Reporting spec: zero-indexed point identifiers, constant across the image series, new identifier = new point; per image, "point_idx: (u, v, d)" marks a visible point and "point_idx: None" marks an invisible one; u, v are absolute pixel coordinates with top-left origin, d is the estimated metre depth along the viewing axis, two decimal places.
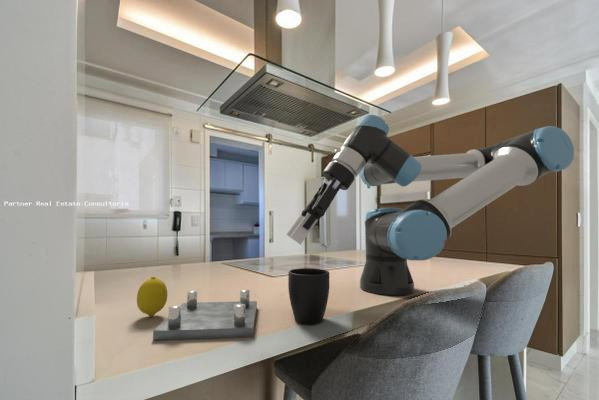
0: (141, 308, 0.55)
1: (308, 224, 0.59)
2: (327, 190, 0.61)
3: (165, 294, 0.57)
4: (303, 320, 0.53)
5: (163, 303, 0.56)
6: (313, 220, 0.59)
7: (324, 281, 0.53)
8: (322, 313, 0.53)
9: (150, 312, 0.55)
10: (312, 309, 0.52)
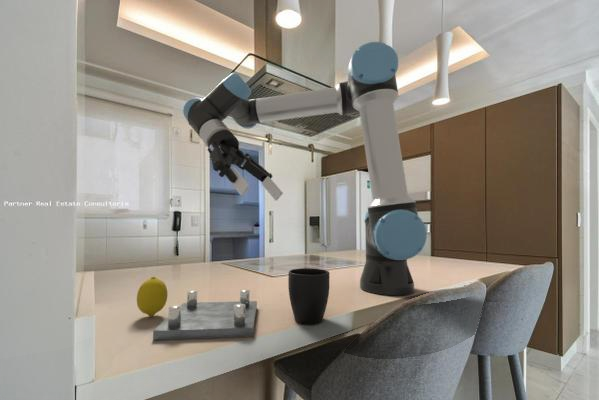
0: (141, 308, 0.55)
1: (230, 176, 0.61)
2: (211, 156, 0.65)
3: (165, 294, 0.57)
4: (303, 320, 0.53)
5: (163, 303, 0.56)
6: (228, 171, 0.61)
7: (324, 281, 0.53)
8: (322, 313, 0.53)
9: (150, 312, 0.55)
10: (312, 309, 0.52)
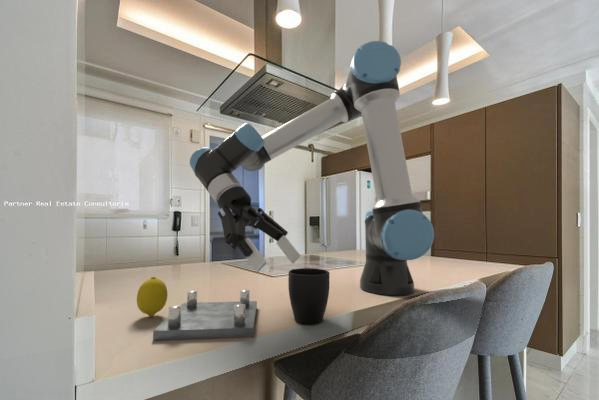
0: (141, 308, 0.55)
1: (244, 250, 0.55)
2: (222, 223, 0.59)
3: (165, 294, 0.57)
4: (303, 320, 0.53)
5: (163, 303, 0.56)
6: (242, 244, 0.55)
7: (324, 281, 0.53)
8: (322, 313, 0.53)
9: (150, 312, 0.55)
10: (312, 309, 0.52)
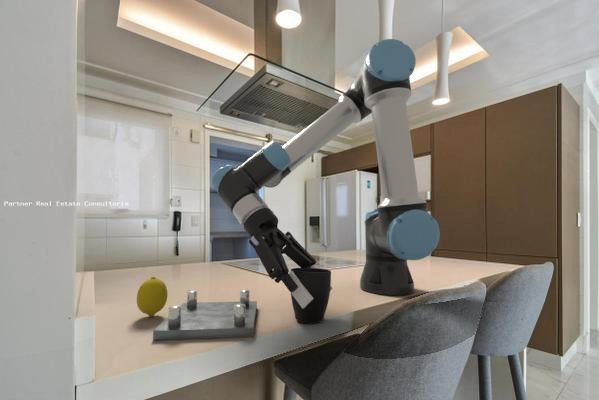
0: (141, 308, 0.55)
1: (290, 285, 0.52)
2: (258, 254, 0.55)
3: (165, 294, 0.57)
4: (304, 317, 0.53)
5: (163, 303, 0.56)
6: (286, 279, 0.52)
7: (326, 279, 0.54)
8: (323, 311, 0.54)
9: (150, 312, 0.55)
10: (313, 306, 0.52)
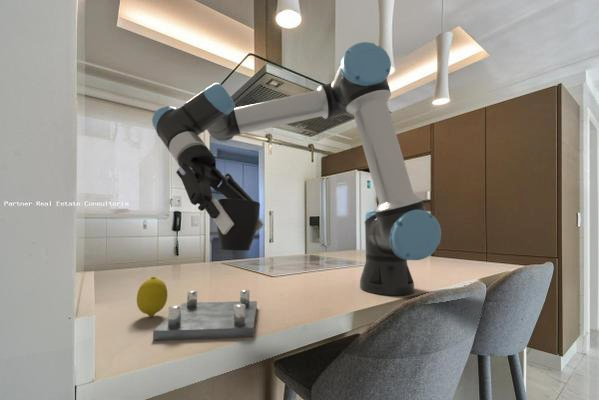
0: (141, 308, 0.55)
1: (211, 211, 0.51)
2: (184, 182, 0.54)
3: (165, 294, 0.57)
4: (226, 245, 0.52)
5: (163, 303, 0.56)
6: (208, 205, 0.51)
7: (250, 207, 0.53)
8: (247, 240, 0.53)
9: (150, 312, 0.55)
10: (235, 233, 0.51)
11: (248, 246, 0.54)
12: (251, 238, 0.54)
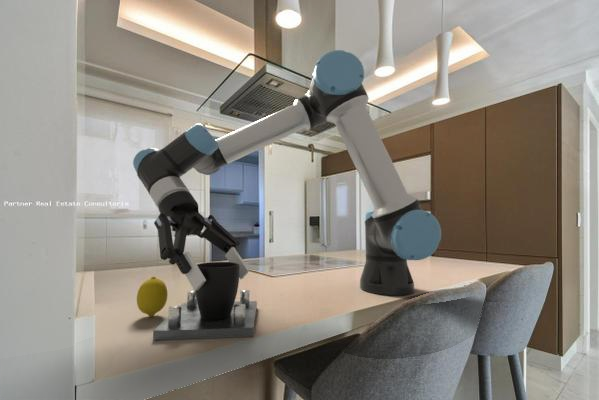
0: (141, 308, 0.55)
1: (181, 266, 0.49)
2: (159, 234, 0.52)
3: (165, 294, 0.57)
4: (206, 315, 0.50)
5: (163, 303, 0.56)
6: (179, 259, 0.49)
7: (229, 274, 0.51)
8: (227, 308, 0.51)
9: (150, 312, 0.55)
10: (214, 303, 0.50)
11: (229, 312, 0.52)
12: (232, 304, 0.52)
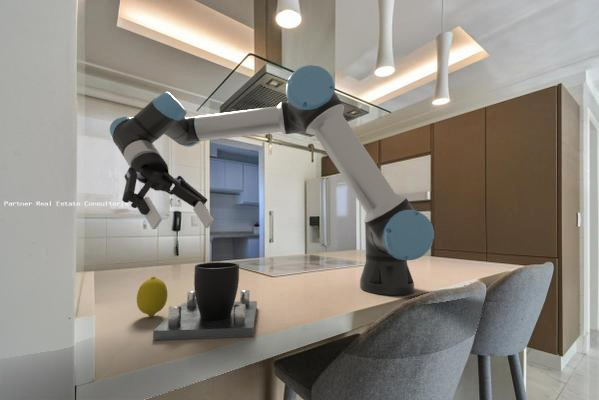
0: (141, 308, 0.55)
1: (141, 208, 0.55)
2: (126, 184, 0.59)
3: (165, 294, 0.57)
4: (206, 315, 0.50)
5: (163, 303, 0.56)
6: (139, 202, 0.56)
7: (228, 275, 0.51)
8: (227, 308, 0.51)
9: (150, 312, 0.55)
10: (214, 304, 0.50)
11: (229, 313, 0.52)
12: (231, 304, 0.52)
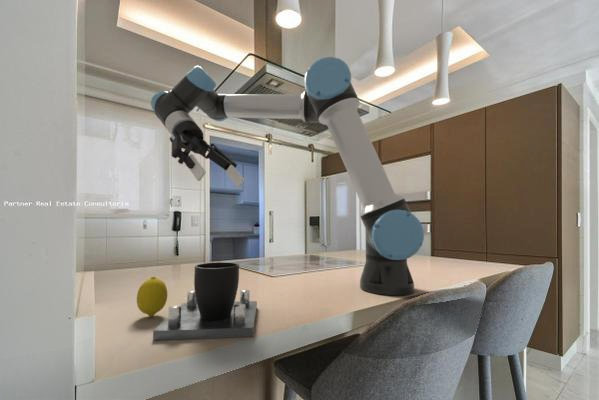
0: (141, 308, 0.55)
1: (187, 162, 0.64)
2: (172, 144, 0.69)
3: (165, 294, 0.57)
4: (206, 315, 0.50)
5: (163, 303, 0.56)
6: (186, 158, 0.65)
7: (228, 275, 0.51)
8: (227, 308, 0.51)
9: (150, 312, 0.55)
10: (214, 304, 0.50)
11: (229, 313, 0.52)
12: (231, 304, 0.52)
